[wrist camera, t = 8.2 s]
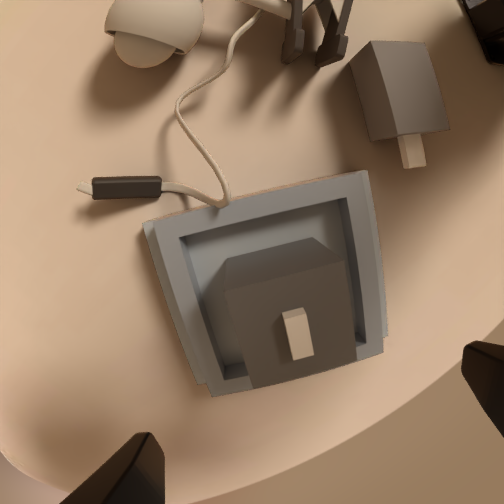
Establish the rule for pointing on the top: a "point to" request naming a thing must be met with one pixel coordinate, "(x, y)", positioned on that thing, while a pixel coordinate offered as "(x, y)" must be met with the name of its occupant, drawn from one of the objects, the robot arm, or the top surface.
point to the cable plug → (399, 95)
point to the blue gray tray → (257, 238)
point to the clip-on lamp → (181, 42)
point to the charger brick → (290, 311)
